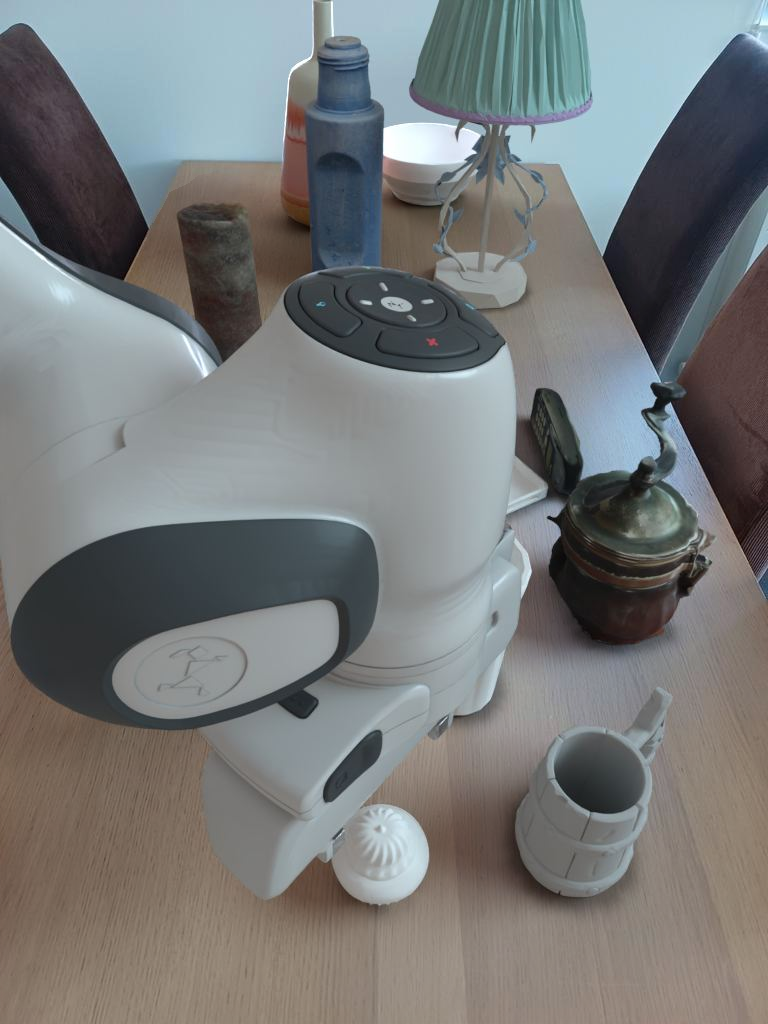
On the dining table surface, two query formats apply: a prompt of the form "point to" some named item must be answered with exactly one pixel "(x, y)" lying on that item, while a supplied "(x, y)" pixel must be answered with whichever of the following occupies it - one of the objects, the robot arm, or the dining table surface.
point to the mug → (590, 803)
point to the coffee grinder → (630, 543)
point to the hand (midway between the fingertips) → (381, 781)
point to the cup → (489, 677)
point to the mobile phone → (557, 440)
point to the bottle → (344, 159)
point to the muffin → (381, 855)
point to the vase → (302, 119)
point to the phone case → (525, 487)
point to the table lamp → (499, 112)
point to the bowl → (425, 160)
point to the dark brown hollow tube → (221, 272)
